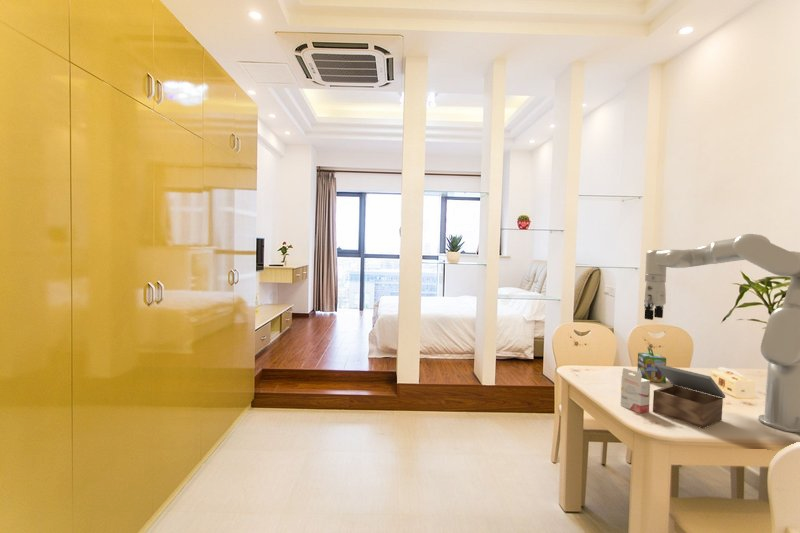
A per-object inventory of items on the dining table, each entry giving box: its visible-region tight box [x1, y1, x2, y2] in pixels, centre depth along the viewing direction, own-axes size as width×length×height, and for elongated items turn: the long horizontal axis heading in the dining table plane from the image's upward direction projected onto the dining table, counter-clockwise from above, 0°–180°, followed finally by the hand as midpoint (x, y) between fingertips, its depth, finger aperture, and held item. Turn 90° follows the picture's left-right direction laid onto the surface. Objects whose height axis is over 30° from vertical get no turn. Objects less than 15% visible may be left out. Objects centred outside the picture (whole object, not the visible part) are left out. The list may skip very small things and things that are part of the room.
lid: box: [656, 364, 726, 399], centre depth 146 cm, size 17×15×1 cm
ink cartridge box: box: [620, 367, 651, 414], centre depth 152 cm, size 9×5×15 cm, turn 22°
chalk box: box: [636, 346, 667, 384], centre depth 189 cm, size 9×9×15 cm
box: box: [652, 384, 724, 429], centre depth 146 cm, size 16×14×8 cm
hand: (653, 318), depth 175 cm, fingers open, 9 cm apart
